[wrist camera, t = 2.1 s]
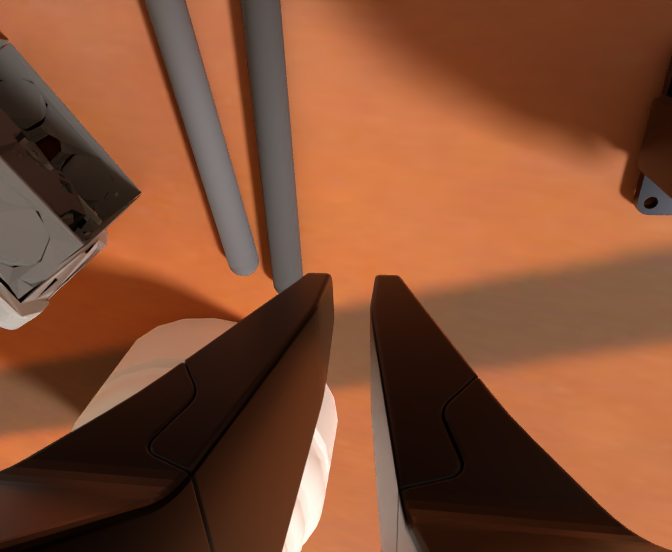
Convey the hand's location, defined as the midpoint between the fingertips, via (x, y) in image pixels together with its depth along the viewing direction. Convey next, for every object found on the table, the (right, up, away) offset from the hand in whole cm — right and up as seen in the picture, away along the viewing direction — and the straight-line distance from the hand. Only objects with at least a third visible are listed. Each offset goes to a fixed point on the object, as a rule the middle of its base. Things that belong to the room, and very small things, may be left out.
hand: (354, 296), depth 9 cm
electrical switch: (-12, +7, +13) cm, 19 cm away
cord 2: (-3, +7, +12) cm, 14 cm away
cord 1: (-6, +7, +12) cm, 15 cm away
